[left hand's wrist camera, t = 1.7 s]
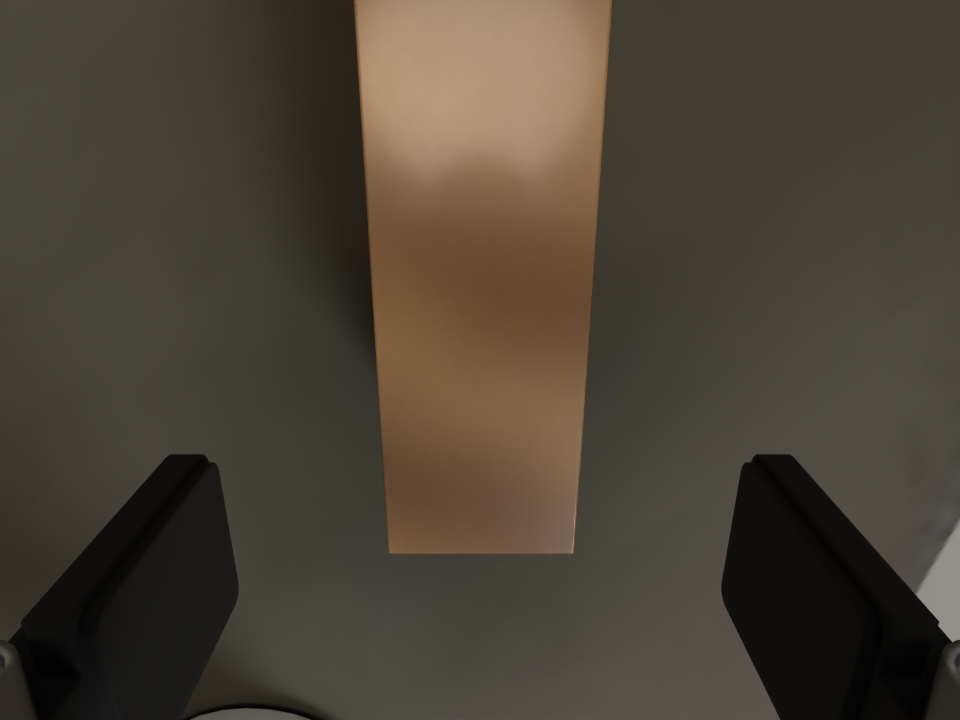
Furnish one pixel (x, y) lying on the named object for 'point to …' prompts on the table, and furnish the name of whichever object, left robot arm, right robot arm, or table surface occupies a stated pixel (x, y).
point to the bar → (482, 261)
